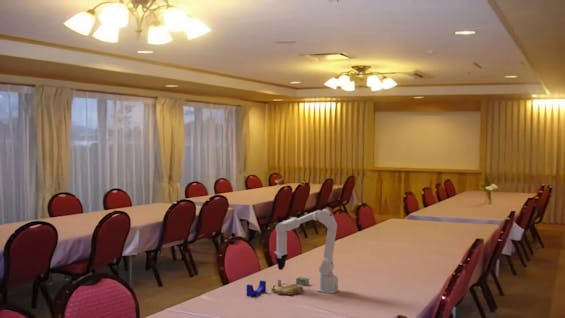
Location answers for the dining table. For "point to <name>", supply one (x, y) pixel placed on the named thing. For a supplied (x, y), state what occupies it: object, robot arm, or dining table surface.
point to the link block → (302, 281)
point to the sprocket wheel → (286, 288)
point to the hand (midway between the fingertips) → (281, 268)
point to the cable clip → (257, 292)
